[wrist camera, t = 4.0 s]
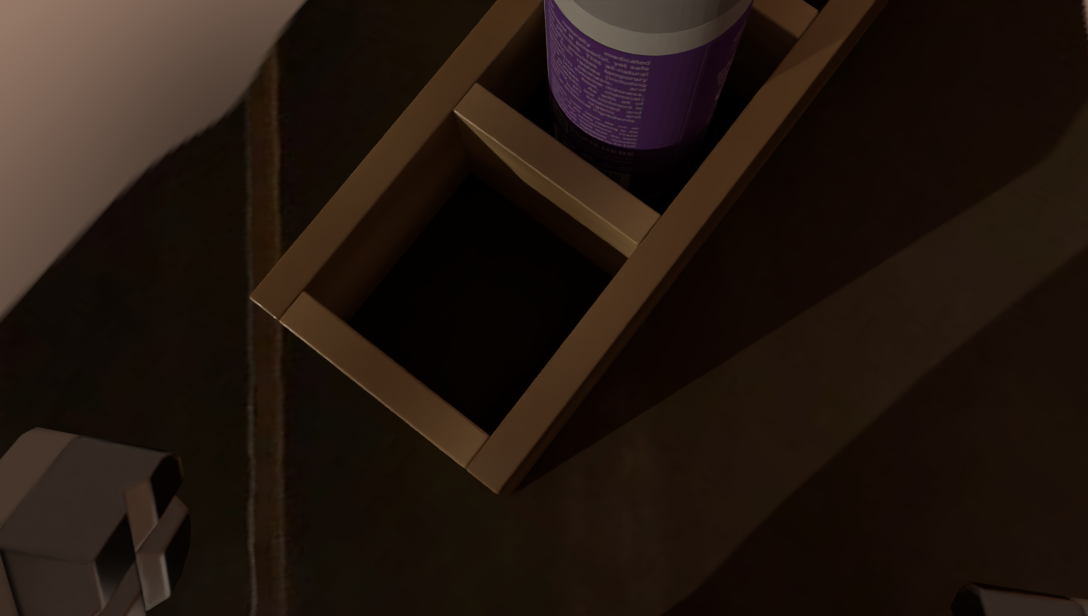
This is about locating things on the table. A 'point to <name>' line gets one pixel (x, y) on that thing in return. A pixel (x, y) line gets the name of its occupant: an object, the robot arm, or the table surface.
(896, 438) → the table surface
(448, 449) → the rack
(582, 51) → the container
